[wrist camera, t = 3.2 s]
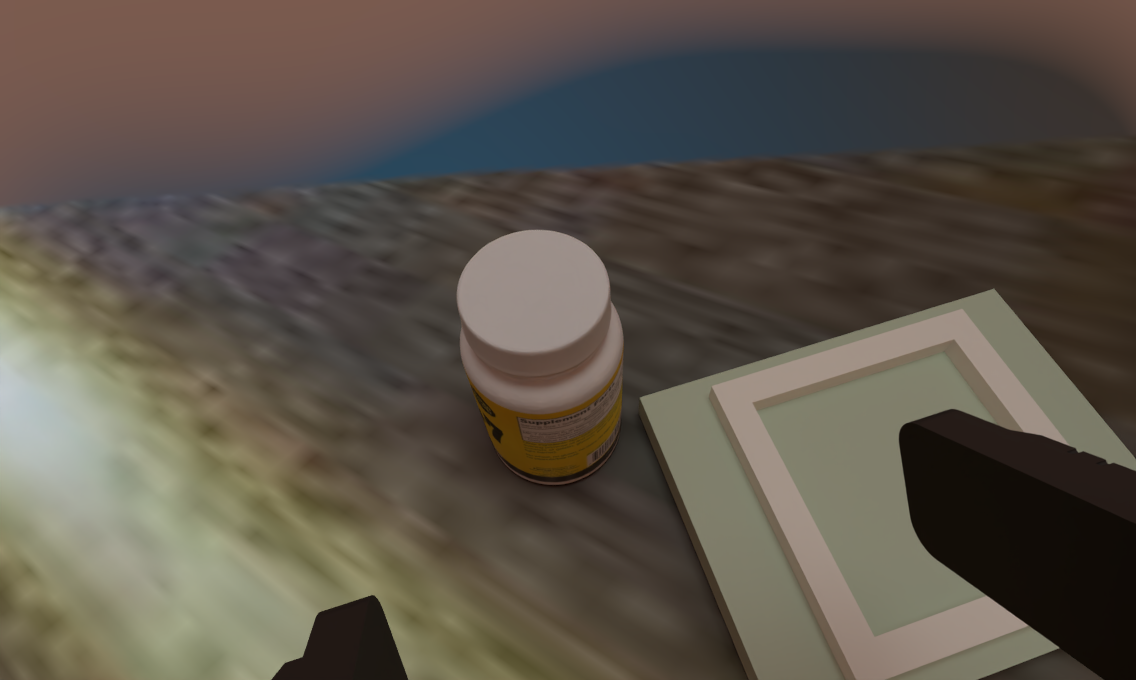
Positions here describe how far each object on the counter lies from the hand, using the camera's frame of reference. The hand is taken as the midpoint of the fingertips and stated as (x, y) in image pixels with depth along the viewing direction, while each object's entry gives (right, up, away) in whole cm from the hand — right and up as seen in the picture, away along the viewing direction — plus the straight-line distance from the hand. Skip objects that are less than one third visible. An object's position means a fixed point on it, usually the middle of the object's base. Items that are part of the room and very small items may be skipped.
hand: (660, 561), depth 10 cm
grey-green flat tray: (+10, -2, +13) cm, 16 cm away
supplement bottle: (-2, 0, +15) cm, 15 cm away
